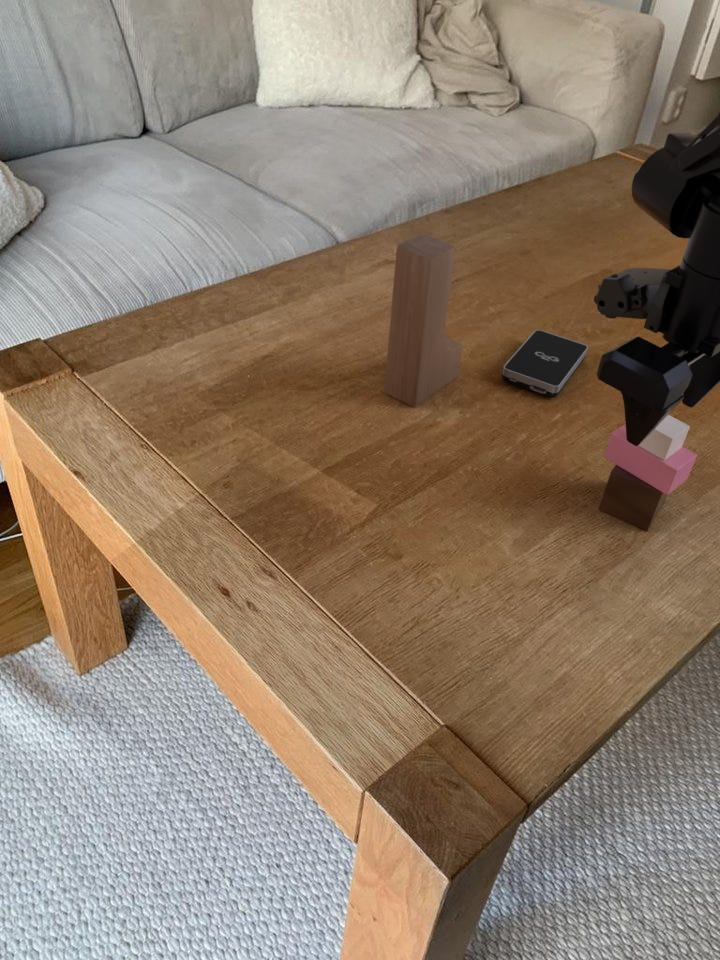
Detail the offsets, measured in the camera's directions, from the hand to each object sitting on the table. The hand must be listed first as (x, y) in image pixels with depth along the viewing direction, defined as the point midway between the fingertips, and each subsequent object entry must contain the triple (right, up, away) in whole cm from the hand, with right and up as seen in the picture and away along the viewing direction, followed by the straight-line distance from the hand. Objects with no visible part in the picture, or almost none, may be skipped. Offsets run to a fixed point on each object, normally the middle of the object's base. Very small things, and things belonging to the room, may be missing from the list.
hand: (661, 423), depth 74 cm
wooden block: (-20, +6, +21) cm, 30 cm away
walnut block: (0, -8, +7) cm, 10 cm away
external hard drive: (-5, +8, +25) cm, 26 cm away
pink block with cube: (0, -4, +3) cm, 5 cm away
